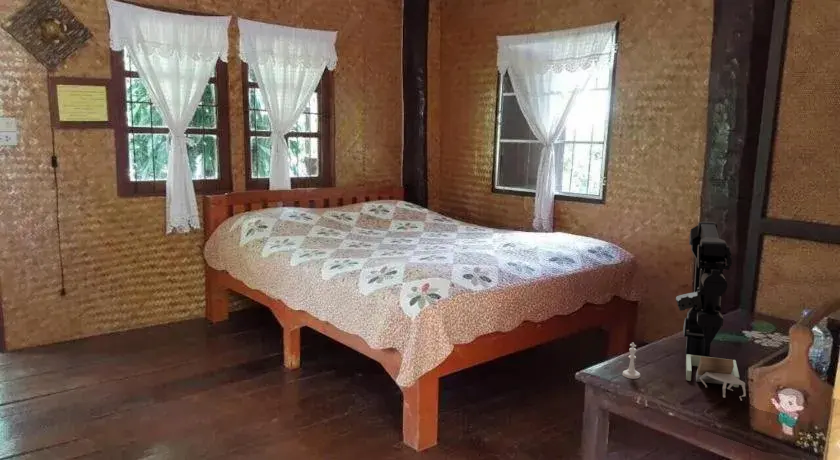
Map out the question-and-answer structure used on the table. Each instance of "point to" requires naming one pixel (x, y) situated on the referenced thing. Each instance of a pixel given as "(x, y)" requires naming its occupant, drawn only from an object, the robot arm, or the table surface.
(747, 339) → the table surface
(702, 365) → the two-tone wooden slab
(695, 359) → the green c-shaped bracket
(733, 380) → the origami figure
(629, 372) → the chess piece
